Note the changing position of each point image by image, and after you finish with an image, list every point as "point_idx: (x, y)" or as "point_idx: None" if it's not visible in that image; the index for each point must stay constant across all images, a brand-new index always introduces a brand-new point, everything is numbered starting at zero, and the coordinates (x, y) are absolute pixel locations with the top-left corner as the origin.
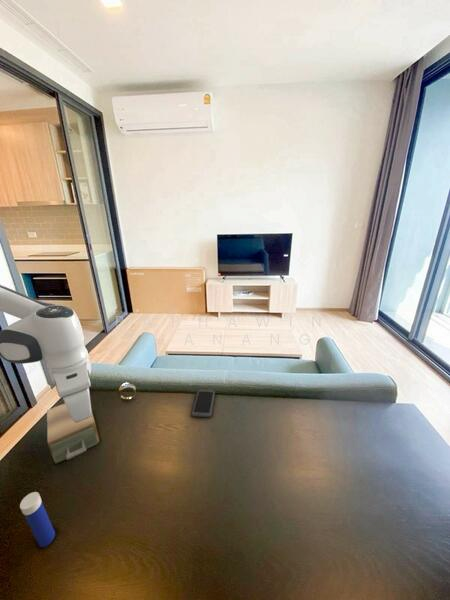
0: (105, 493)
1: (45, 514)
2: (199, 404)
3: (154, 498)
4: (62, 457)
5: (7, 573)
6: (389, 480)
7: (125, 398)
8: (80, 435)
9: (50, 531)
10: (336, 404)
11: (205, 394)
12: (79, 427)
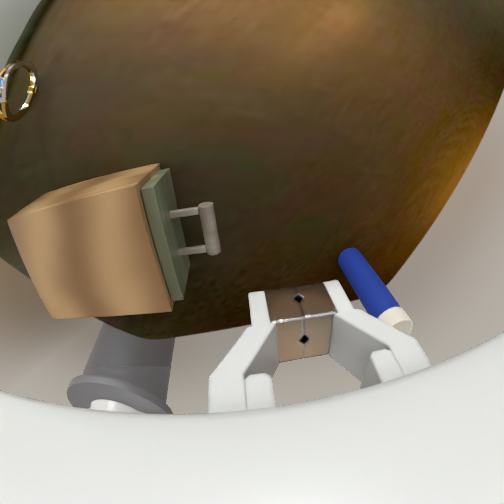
0: (331, 156)
1: (380, 284)
2: None
3: (397, 69)
4: (185, 255)
5: (358, 297)
6: None
7: (29, 98)
8: (165, 226)
9: (365, 260)
10: None
11: None
12: (139, 234)
